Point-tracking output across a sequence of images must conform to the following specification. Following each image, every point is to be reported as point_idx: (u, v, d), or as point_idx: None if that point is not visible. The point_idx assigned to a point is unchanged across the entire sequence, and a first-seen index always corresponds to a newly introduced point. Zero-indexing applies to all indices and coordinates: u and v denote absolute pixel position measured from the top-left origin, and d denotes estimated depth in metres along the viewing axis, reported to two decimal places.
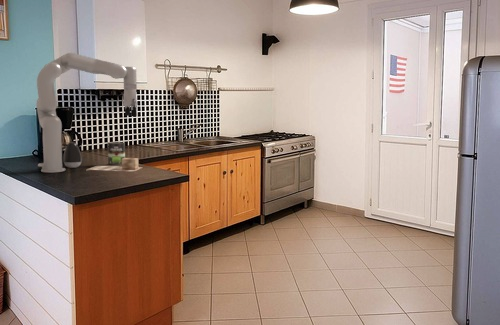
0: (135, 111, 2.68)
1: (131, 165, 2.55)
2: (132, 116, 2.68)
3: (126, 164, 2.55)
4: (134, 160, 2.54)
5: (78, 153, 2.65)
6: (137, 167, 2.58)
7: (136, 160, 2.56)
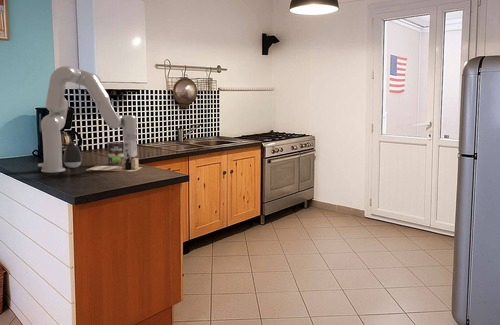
0: None
1: (131, 165, 2.55)
2: None
3: None
4: (134, 160, 2.54)
5: (78, 153, 2.65)
6: (137, 167, 2.58)
7: (136, 160, 2.56)
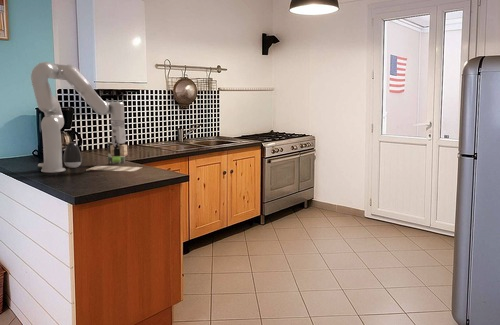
0: None
1: (120, 151, 2.55)
2: None
3: None
4: (123, 146, 2.54)
5: (78, 153, 2.65)
6: (126, 153, 2.58)
7: (125, 146, 2.56)
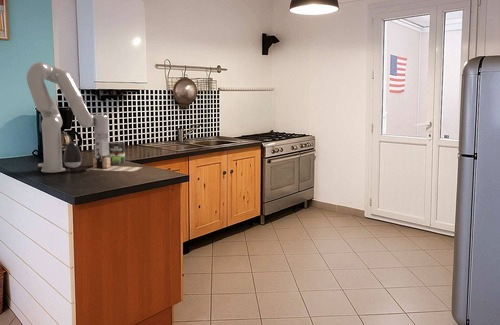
0: None
1: (102, 164, 2.57)
2: None
3: None
4: (105, 159, 2.56)
5: (78, 153, 2.65)
6: (109, 166, 2.60)
7: (107, 159, 2.58)
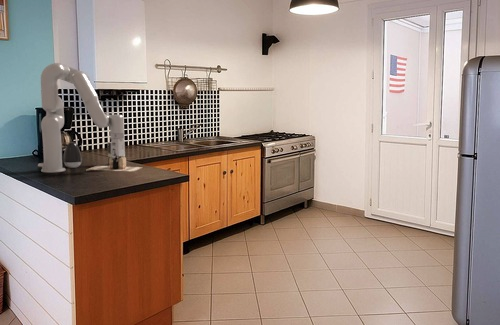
0: None
1: None
2: None
3: None
4: (121, 159, 2.55)
5: (78, 153, 2.65)
6: (125, 166, 2.59)
7: (124, 159, 2.57)
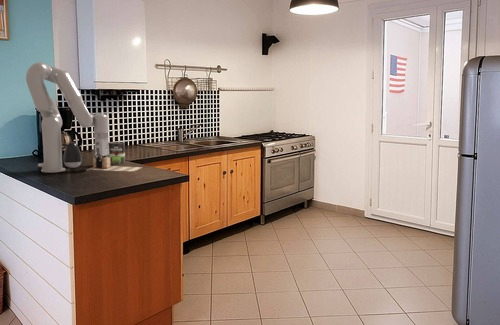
0: None
1: (102, 164, 2.57)
2: None
3: None
4: (105, 159, 2.56)
5: (78, 153, 2.65)
6: (109, 166, 2.60)
7: (107, 159, 2.58)
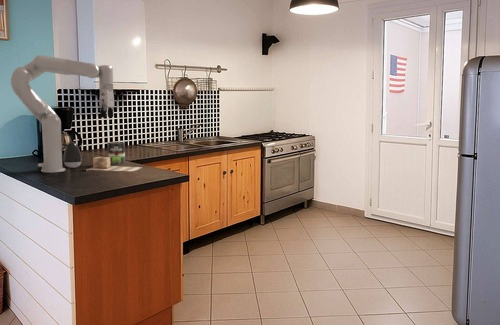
0: None
1: (102, 164, 2.57)
2: None
3: (97, 162, 2.57)
4: (105, 159, 2.56)
5: (78, 153, 2.65)
6: (109, 166, 2.60)
7: (107, 159, 2.58)
